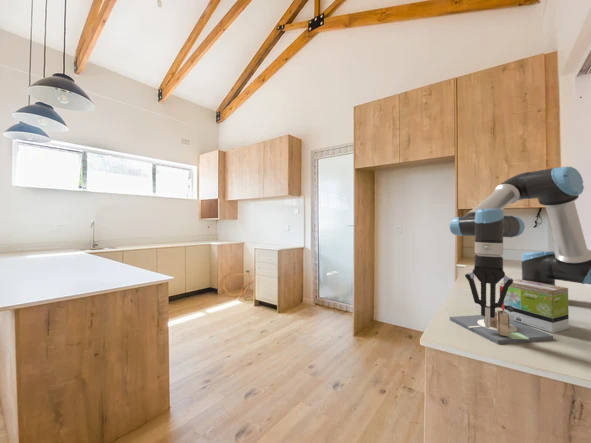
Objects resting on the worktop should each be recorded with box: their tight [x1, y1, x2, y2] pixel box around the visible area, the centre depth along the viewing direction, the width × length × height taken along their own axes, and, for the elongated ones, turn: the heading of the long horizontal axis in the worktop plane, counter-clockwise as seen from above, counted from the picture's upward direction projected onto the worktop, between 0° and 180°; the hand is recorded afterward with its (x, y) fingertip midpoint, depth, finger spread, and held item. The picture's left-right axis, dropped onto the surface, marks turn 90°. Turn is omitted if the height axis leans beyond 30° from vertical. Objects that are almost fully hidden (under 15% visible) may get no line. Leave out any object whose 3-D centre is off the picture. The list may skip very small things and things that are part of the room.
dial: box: [484, 308, 509, 336], centre depth 86 cm, size 15×7×8 cm, turn 152°
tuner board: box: [449, 314, 554, 345], centre depth 89 cm, size 21×21×1 cm
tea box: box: [503, 278, 570, 334], centre depth 94 cm, size 15×10×15 cm, turn 21°
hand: (487, 326), depth 84 cm, fingers closed
